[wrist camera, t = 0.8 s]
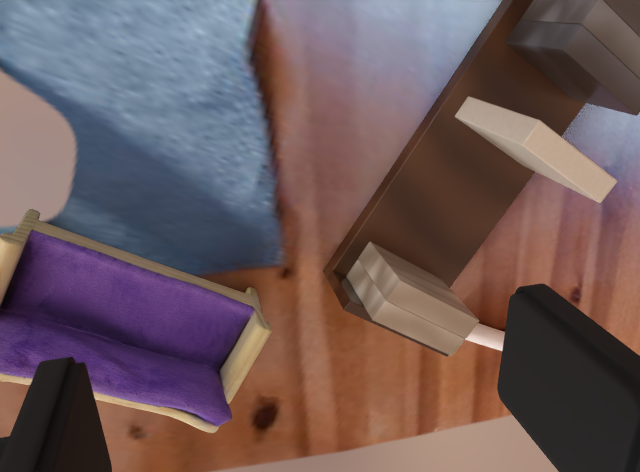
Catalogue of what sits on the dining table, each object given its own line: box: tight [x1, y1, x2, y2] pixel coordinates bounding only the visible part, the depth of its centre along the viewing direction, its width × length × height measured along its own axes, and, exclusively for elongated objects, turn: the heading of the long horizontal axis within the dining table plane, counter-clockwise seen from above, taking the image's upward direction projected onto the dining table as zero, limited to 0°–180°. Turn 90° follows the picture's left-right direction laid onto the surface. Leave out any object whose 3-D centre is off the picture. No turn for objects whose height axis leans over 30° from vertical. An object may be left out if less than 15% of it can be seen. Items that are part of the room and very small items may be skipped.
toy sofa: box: [0, 209, 272, 433], centre depth 41 cm, size 21×9×10 cm, turn 60°
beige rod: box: [465, 323, 505, 351], centre depth 58 cm, size 18×2×2 cm, turn 64°
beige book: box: [455, 96, 617, 203], centre depth 42 cm, size 2×9×10 cm, turn 57°
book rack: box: [323, 0, 640, 356], centre depth 44 cm, size 32×12×9 cm, turn 147°
